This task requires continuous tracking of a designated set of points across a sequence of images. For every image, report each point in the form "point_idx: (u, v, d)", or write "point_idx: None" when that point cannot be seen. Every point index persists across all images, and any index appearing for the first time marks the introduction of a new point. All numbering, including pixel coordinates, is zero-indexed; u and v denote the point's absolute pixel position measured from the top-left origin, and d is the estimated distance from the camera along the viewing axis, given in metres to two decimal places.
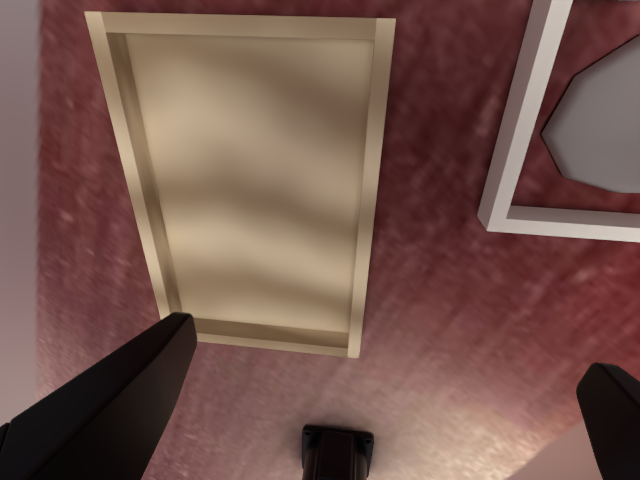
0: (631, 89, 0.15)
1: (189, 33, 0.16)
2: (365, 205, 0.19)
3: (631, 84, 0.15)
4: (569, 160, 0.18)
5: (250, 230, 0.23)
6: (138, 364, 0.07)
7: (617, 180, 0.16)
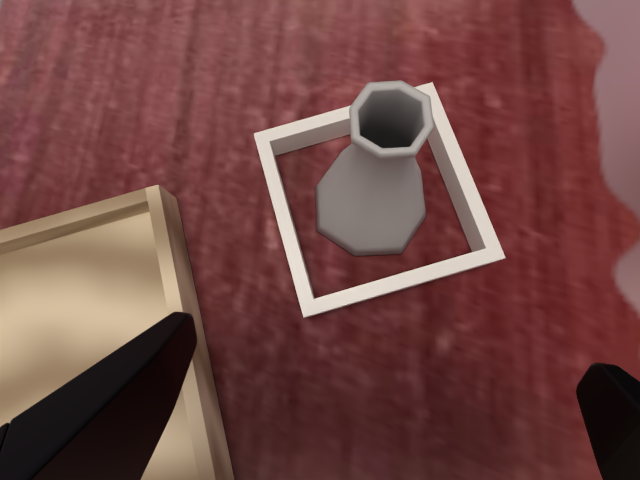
0: (331, 170, 0.20)
1: (9, 239, 0.21)
2: None
3: (331, 169, 0.21)
4: (340, 236, 0.21)
5: None
6: (138, 364, 0.07)
7: (363, 225, 0.19)
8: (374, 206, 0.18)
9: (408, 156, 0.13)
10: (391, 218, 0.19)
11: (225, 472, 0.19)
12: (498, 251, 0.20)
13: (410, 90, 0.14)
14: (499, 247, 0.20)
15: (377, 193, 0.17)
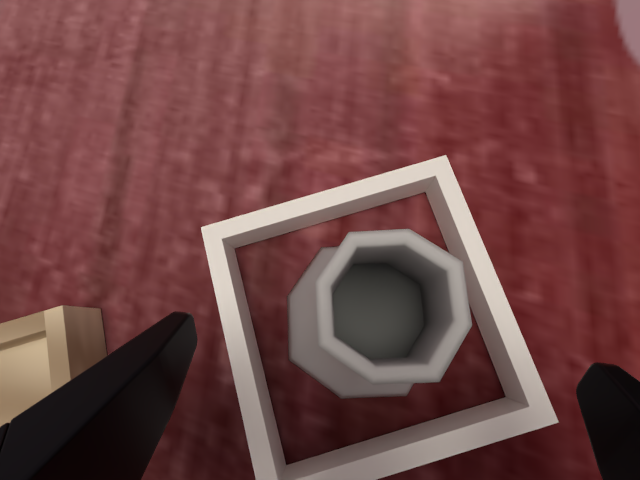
0: (305, 289, 0.14)
1: None
2: None
3: (306, 285, 0.15)
4: (320, 377, 0.15)
5: None
6: (138, 364, 0.07)
7: (350, 382, 0.13)
8: None
9: None
10: None
11: None
12: (548, 412, 0.14)
13: (426, 249, 0.07)
14: (549, 405, 0.14)
15: None
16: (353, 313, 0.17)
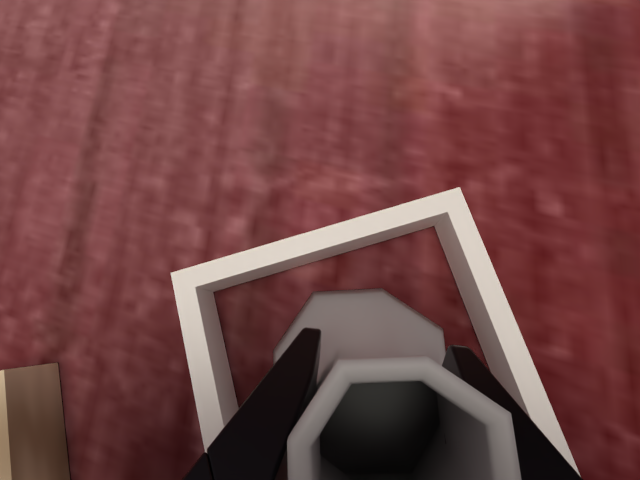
0: None
1: None
2: None
3: None
4: None
5: None
6: (300, 386, 0.06)
7: None
8: None
9: None
10: None
11: None
12: None
13: (454, 391, 0.05)
14: None
15: None
16: None
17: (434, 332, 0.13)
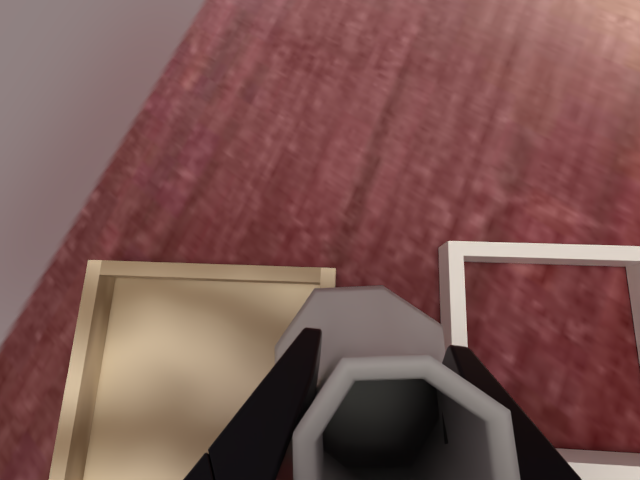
0: None
1: (169, 276, 0.20)
2: None
3: None
4: None
5: None
6: (301, 386, 0.06)
7: None
8: (365, 474, 0.09)
9: None
10: None
11: None
12: None
13: (455, 388, 0.05)
14: None
15: None
16: None
17: (434, 329, 0.13)
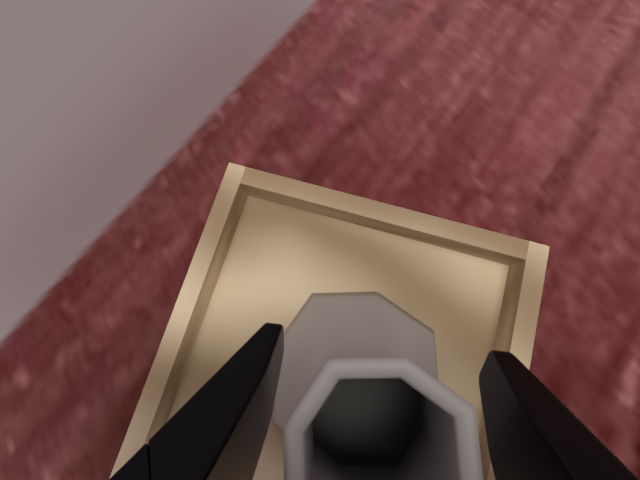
0: (290, 352, 0.13)
1: (328, 205, 0.15)
2: None
3: (292, 346, 0.13)
4: None
5: None
6: (252, 379, 0.06)
7: None
8: (354, 468, 0.10)
9: None
10: None
11: None
12: None
13: (428, 387, 0.06)
14: None
15: (357, 474, 0.09)
16: None
17: (424, 334, 0.14)
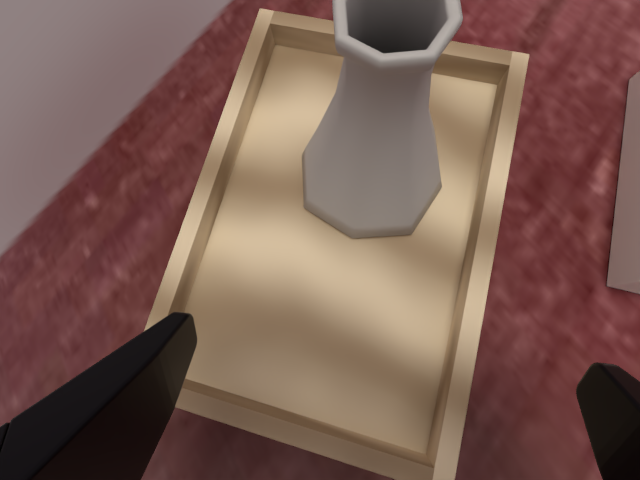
0: None
1: None
2: (488, 214, 0.16)
3: None
4: (333, 213, 0.17)
5: (322, 245, 0.18)
6: (138, 364, 0.07)
7: (360, 194, 0.15)
8: (374, 165, 0.13)
9: (423, 66, 0.09)
10: (397, 183, 0.14)
11: None
12: None
13: None
14: None
15: (377, 143, 0.12)
16: None
17: None
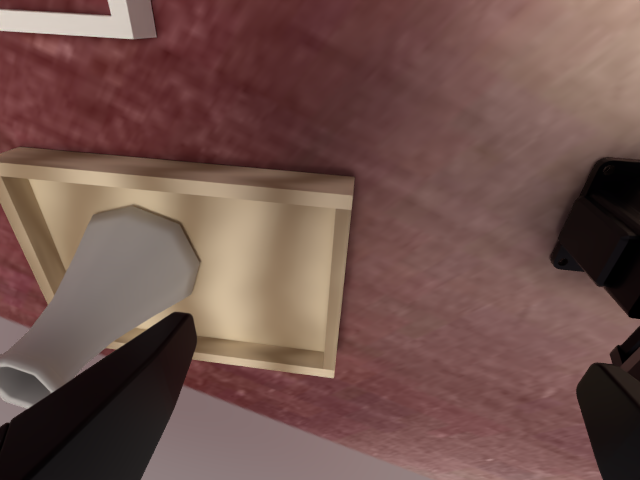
0: None
1: (52, 293, 0.24)
2: (134, 184, 0.19)
3: None
4: (184, 285, 0.22)
5: (213, 278, 0.24)
6: (138, 364, 0.07)
7: (157, 292, 0.20)
8: (129, 306, 0.19)
9: (45, 371, 0.14)
10: (136, 278, 0.19)
11: (285, 178, 0.19)
12: None
13: None
14: None
15: (111, 321, 0.18)
16: None
17: None
